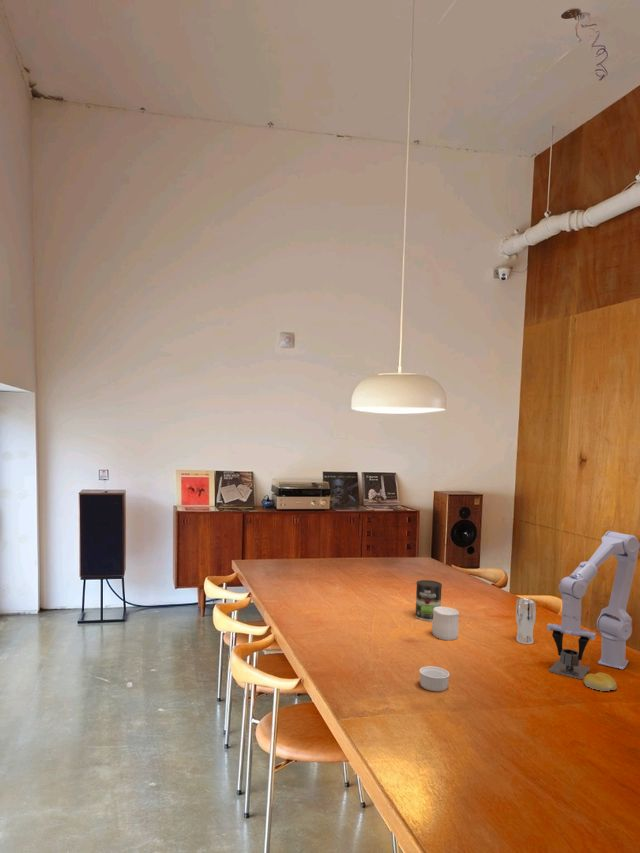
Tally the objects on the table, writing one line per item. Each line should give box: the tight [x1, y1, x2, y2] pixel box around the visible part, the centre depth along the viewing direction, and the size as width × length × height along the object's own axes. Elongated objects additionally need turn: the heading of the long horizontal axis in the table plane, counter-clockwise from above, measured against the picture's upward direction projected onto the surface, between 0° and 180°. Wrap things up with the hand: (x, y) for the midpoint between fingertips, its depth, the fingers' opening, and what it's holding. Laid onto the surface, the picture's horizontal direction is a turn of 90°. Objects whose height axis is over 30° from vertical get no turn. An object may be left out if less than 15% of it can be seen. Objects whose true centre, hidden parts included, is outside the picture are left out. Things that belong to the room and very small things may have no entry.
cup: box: [431, 606, 460, 641], centre depth 224 cm, size 10×10×10 cm
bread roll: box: [583, 671, 618, 692], centre depth 183 cm, size 8×9×4 cm
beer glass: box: [515, 597, 537, 645], centre depth 222 cm, size 7×7×15 cm
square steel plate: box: [548, 659, 591, 680], centre depth 195 cm, size 11×10×5 cm
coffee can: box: [415, 579, 443, 622], centre depth 246 cm, size 10×10×14 cm
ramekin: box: [418, 665, 450, 692], centre depth 179 cm, size 9×9×4 cm
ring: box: [559, 648, 581, 666], centre depth 195 cm, size 6×6×4 cm
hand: (570, 657), depth 195 cm, fingers closed on ring, 5 cm apart
